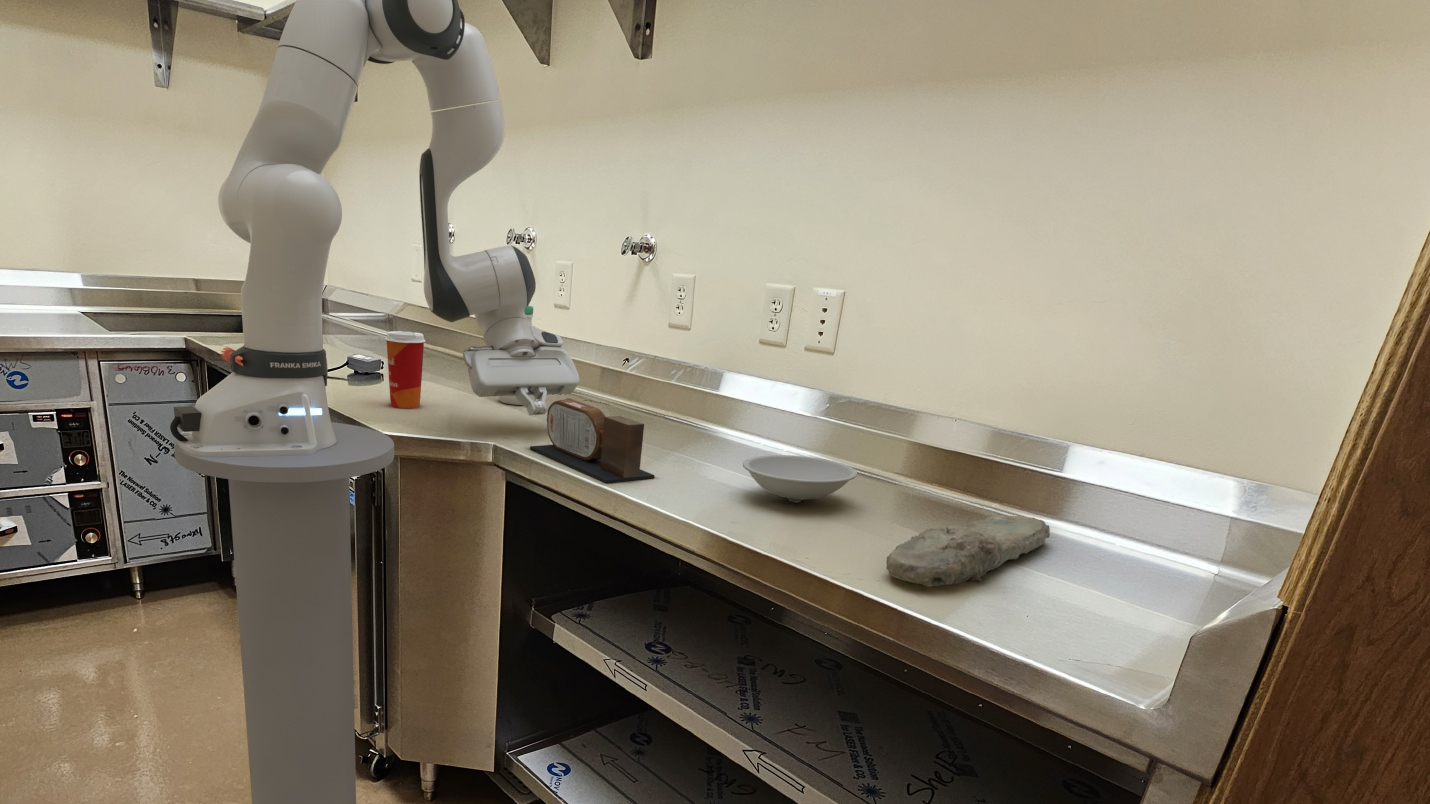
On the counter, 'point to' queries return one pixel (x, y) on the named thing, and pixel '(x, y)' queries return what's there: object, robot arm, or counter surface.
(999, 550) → the long grey stone
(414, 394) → the paper cup
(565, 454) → the mat
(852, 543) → the counter surface
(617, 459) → the brown rectangular block
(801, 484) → the dish
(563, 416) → the tin
